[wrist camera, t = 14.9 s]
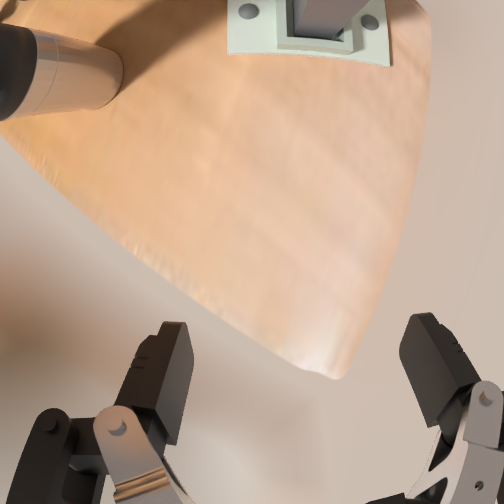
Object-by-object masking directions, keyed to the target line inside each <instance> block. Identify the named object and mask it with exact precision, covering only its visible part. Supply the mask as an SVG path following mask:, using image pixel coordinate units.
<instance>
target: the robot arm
mask: <svg viewBox="0 0 504 504" xmlns="http://www.w3.org/2000/svg"><path fill="white" fill-rule="evenodd" d="M122 78H123V64H122V61H121V59H120V57H119V56H118V55H117V54H116V53H115V52H114V51H112V50H109V49H106V48H103V47H100V46H97V45H95V44H91V43H88V42H85V41H81V40H78V39H74V38H70V37H67V36H63V35H59V34H54V33H50V32H45V31H40V30H35V29H30V28H25V27H19V26H14V25H9V24H3V23H0V121H4V120H9V119H15V118H21V117H26V116H33V115H40V114H49V113H58V112H69V111H83V110H95V109H98V108H101V107H103V106H105V105H106V104H107V103H108V102H110V101H111V99H112V98H113V97H114V96H115V95H116V93H117V91H118V90H119V87H120V85H121V82H122ZM399 356H400V360H401V362H402V365H403V367H404V369H405V371H406V374H407V376H408V379H409V381H410V383H411V386H412V388H413V391H414V393H415V395H416V398H417V401H418V403H419V406H420V408H421V411H422V413H423V416H424V419H425V421H426V424H427V427H428V428H429V427H432V426H436V425H439V426H440V430H439V431H438V433H437V436H436V439H435V441H434V445H433V447H432V450H431V453H430V455H429V458H428V461H427V463H426V466H425V468H424V470H423V473H422V475H421V476H420V478H419V480H418V481H417V482H416V483H415V485H414V486H413V487H412V489H411V490H410V492H409V494H408V495H407V497H406V498H405V495H404V493H400V494H397V495H393V496H390V497H387V498H382V499H378V500H374V501H370V502H368V503H366V504H495V500H496V497H497V502H498V504H504V391H501V390H500V388H499V387H498V386H497V385H495V384H494V383H492V382H490V381H482V380H481V379H480V377H479V375H478V374H477V372H476V370H475V369H474V367H473V365H472V363H471V362H470V360H469V359H468V357H467V355H466V354H465V352H463V349H462V348H461V346H460V344H458V341H457V339H456V338H455V336H454V335H453V333H452V332H451V331H450V330H448V329H447V328H446V327H445V326H444V325H442V324H439V322H438V321H437V319H436V318H435V316H434V315H433V314H432V313H430V312H428V313H420V314H413V315H412V316H411V317H410V319H409V322H408V325H407V327H406V330H405V333H404V336H403V338H402V341H401V343H400V349H399ZM193 366H194V354H193V350H192V346H191V341H190V337H189V333H188V328H187V325H186V323H185V322H168V321H164V322H163V323H162V325H161V327H160V330H159V332H158V335H157V336H156V335H149V336H148V337H147V338H146V339H145V340H144V341H143V342H142V343H141V344H140V345H139V347H138V350H137V352H136V354H135V358H134V359H133V361H132V363H131V368H129V370H128V372H127V375H126V377H125V380H124V382H123V384H122V387H121V389H120V392H119V394H118V397H117V399H116V401H115V404H114V405H113V406H110V407H108V408H105V409H104V410H102V411H101V412H100V413H99V414H98V415H97V416H96V417H93V418H75V419H70V418H69V417H68V415H67V414H66V413H65V412H64V411H62V410H60V409H57V408H51V409H47V410H45V411H43V412H42V413H41V414H40V415H39V416H38V417H37V419H36V421H35V423H34V425H33V428H32V430H31V432H30V435H29V437H28V440H27V442H26V445H25V447H24V450H23V452H22V455H21V458H20V461H19V463H18V466H17V469H16V472H15V475H14V478H13V481H12V484H11V487H10V491H9V494H8V497H7V501H6V504H100V499H101V495H102V490H103V486H104V482H105V477H106V475H110V476H111V478H112V481H113V483H114V485H115V488H116V491H115V492H114V495H113V496H114V500H115V503H116V504H195V502H194V501H193V500H192V499H191V498H190V496H189V495H188V493H187V492H186V490H185V489H184V487H183V486H182V484H181V483H180V481H179V480H178V478H177V476H176V475H175V473H174V471H173V470H172V468H171V467H170V465H169V463H168V462H167V460H166V458H165V456H164V455H163V454H164V450H165V446H166V444H169V445H176V444H177V439H178V434H179V429H180V425H181V421H182V416H183V411H184V407H185V403H186V398H187V394H188V389H189V385H190V381H191V376H192V372H193Z"/></svg>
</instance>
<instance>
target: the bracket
mask: <svg viewBox="0 0 504 504" xmlns="http://www.w3.org/2000/svg"><path fill="white" fill-rule="evenodd" d="M292 3H293V0H228V7H227V48H228V56H229V55H295V56H310V57H321V58H331V59H339V60H346V61H353V62H359V63H365V64H371V65H376V66H381V67H386V68H387V67H390V58H389V41H388V28H387V18H386V9H385V2H384V0H370V1H369V2H368V3H367V4H366V5H365V6H364V7H363V8H362V9H361V10H360V11H359V12H358V13H357V14H356V15H355V16H354V17H353V18H352V19H351V20H350V21H349V22H348V23H347V24H346V25H345V26H344V27H343V28H342V29H341V30H340V31H339V32H338V33H337V34H336V35H335V36H334V37H333V38H332V39H331V40H326V39H317V38H305V37H294V31H293V5H292Z"/></svg>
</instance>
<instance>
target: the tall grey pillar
mask: <svg viewBox="0 0 504 504" xmlns="http://www.w3.org/2000/svg"><path fill="white" fill-rule="evenodd" d="M369 1H370V0H293V3H292V5H293V31H294V37H305V38H317V39H326V40H331V39H332V38H333V37H334V36H335V35H336V34H337V33H338V32H339V31H340V30H341V29H342V28H343V27H344V26H345V25H346V24H347V23H348V22H349V21H350V20H351V19H352V18H353V17H354V16H355V15H356V14H357V13H358V12H359V11H360V10H361V9H362V8H363V7H364V6H365V5H366V4H367V3H368V2H369Z"/></svg>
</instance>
